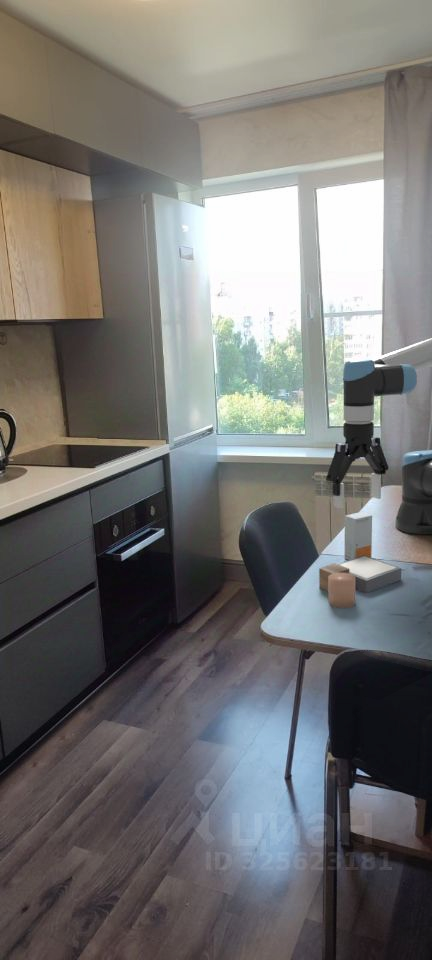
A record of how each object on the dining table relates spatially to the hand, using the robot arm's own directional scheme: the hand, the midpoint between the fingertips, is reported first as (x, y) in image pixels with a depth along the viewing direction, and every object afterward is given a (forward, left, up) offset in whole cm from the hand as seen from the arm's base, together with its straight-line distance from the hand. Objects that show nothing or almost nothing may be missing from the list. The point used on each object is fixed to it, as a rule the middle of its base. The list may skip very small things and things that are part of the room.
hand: (357, 502), depth 175 cm
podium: (+9, +11, -15) cm, 21 cm away
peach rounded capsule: (+23, +17, -16) cm, 32 cm away
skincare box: (0, 0, -16) cm, 16 cm away
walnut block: (+18, +10, -16) cm, 26 cm away
